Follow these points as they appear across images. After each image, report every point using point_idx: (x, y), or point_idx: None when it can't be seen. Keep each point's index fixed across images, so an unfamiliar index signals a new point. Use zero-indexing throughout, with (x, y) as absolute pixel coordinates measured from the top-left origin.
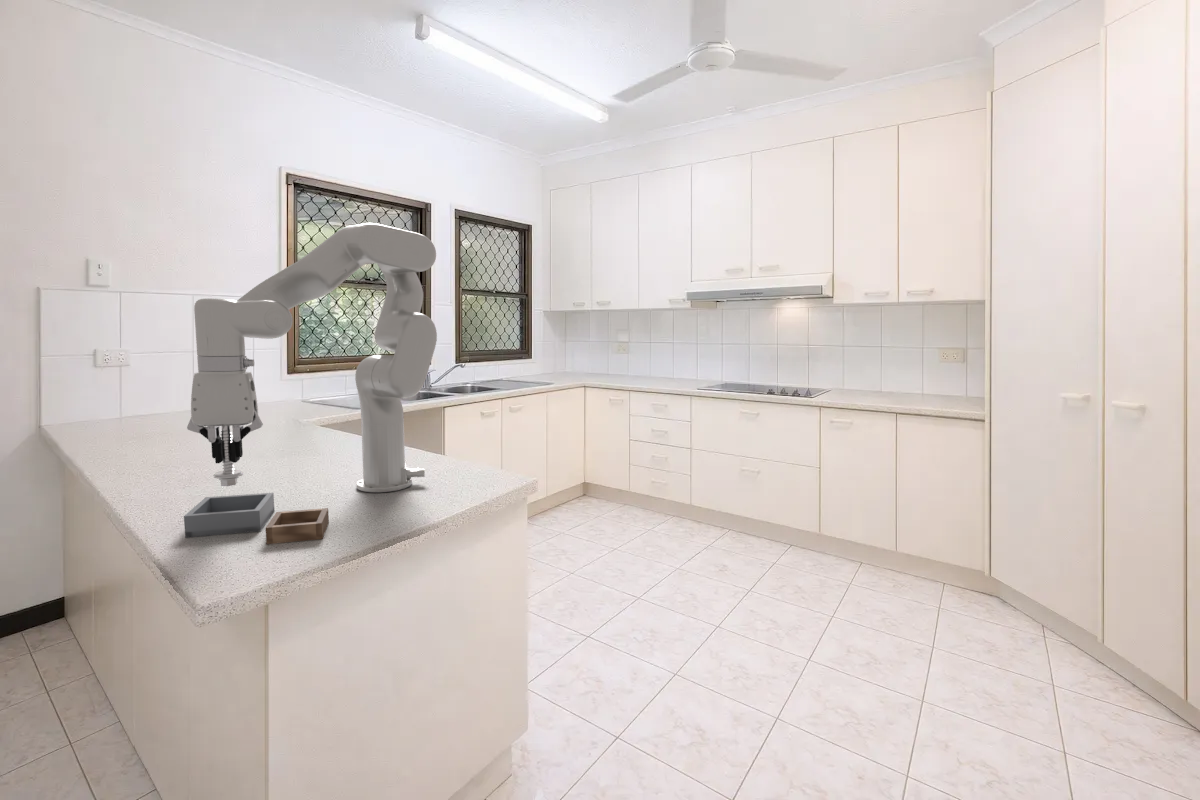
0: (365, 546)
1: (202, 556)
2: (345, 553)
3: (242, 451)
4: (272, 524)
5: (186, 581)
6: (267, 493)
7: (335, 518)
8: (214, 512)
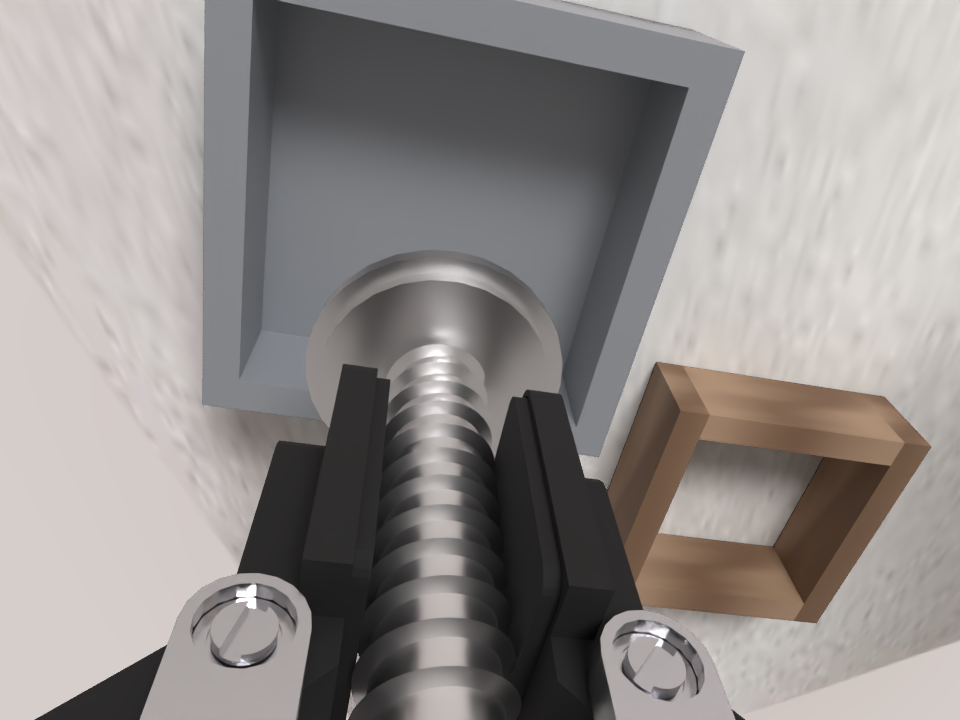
0: (879, 663)
1: None
2: (802, 688)
3: (610, 506)
4: (633, 572)
5: None
6: (697, 60)
7: (940, 342)
8: None
